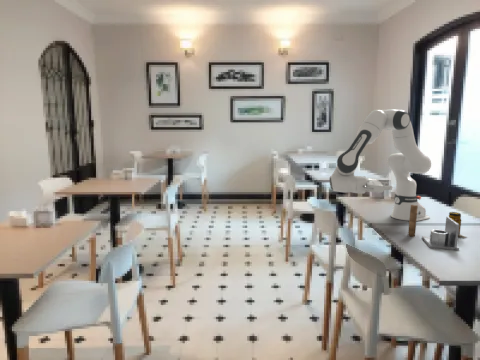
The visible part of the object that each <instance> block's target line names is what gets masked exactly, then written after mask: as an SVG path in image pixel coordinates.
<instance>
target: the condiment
mask: <svg viewBox="0 0 480 360" xmlns="http://www.w3.org/2000/svg"><path fill="white" fill-rule="evenodd" d="M448 217H449V218H451V219H452V220H454V221H455V222H456V223H458V224H459V233H458V239H459V238H462V239H463V238H466V236H464V235H463V234H461V227H462V214H461V213H460V212H457V211H456V212H455V211H450V212H449V213H448Z"/></svg>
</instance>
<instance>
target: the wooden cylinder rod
mask: <svg viewBox="0 0 480 360" xmlns="http://www.w3.org/2000/svg"><path fill="white" fill-rule="evenodd" d="M417 209H418V205H411V208H410V219H409V220H408V230H407V231H408V232H407V236H408V237H411V238H412V237H413V238H414V237H415V236H416V230H417V228H416V226H417V221H416V219H417Z"/></svg>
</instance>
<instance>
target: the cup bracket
mask: <svg viewBox="0 0 480 360" xmlns="http://www.w3.org/2000/svg"><path fill="white" fill-rule="evenodd" d="M444 226H445V227H444V230H442V229H436V228H435V229H431V230H430V235H429V236H425V235H424V236H423V235H422V236H421V239H422V240H423V241H424V242H426V243H425V244H426V245H427V246H428V247H429V248H430V249H436V250H437V249H439V250H449V251H450V250H451V251H460V247H459V246H458V241H459V238H458V233H459V224H458V223H456V222H455V221H454V220H452V219H451V218H449V216H446V218H445V225H444Z"/></svg>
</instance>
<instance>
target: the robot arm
mask: <svg viewBox="0 0 480 360" xmlns="http://www.w3.org/2000/svg"><path fill="white" fill-rule="evenodd" d="M358 127H359V128H358V130H357V131H356V136H355V138H354V140H353V142H352V143H351V145H350V146H349V147H348V149H347V150H346V151H344V152H342V153H341V154H340V155H339V156H338V157H337V160H336V167H335V169H334V172H333V173H332V174H331V176H330V177H329V187H330V190H332V191H333V192H337V193H346V194H347V193H353V194H366V192H368V193H369V192H370V193H379V194H380V193H384V191H388V190H389V191H390V190H391V191H392V190H393V186H392V185H389V183H388V182H384V181H379V179H376V178H369V177H366V176H362V175H359V176H358V175H355V172H356V169H357V167H358V165H359V160H360V159H359V157H360V156H361V154H362V152H363V151H364V149H365V148H366V146H367V145H372V144H373V143H374V142H375V141H376V140H377V139H378V138H379V136H380V134H381V133H382V131H383V130H385V131H388V130H389V131H390V130H391V134H392V139H393V140H392V141H393V144H394V148H395V149H396V150H397V151H398V152H397V153H391V154H390V155H389V156H388V157H387V159H386V162H387V164H386V165H387V167H388V168H389V169H390V170H391V171H392V173H393V176H394V178H395V194H394V202H393V203H394V204H393V208H392V212H391V215H390V217H392V218H393V219H397V220H400V221H401V220H402V221H409V219H410V208H411V205H418V209H417V219H416V222H419V221H424V220H429V219H431V217H430V216H429V215H428V214H427V213H426V212H427V210H426V208H425V207H424V206H423V205H422V204H421V203H420V202H419V201H420V200H421V199H422V196H420V195H417V181H416V180H415V179H414V178H412V177H411V175H410V173H411V174H427V173H428V172H429V171H430V170H431V168H432V162H431V159H430V157H428V156H427V155H425V154H424V153H423V152H422V151H421V149H420V148H419V146H418V145H417V143H416V139H415V138H416V137H415V134H414V128H413V125H412V121H411V116H410V114H409V113H408V112H407V111H406V110H403V109H373V110H372V111H370V113H368V115H367V116H366V117H365V118H364V120H363V121H362V122H361V124H360V125H359V126H358Z"/></svg>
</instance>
